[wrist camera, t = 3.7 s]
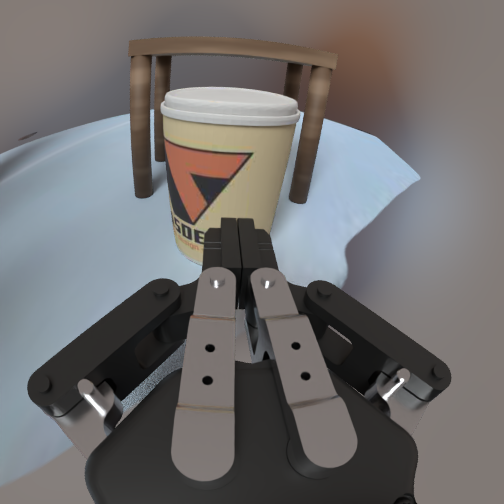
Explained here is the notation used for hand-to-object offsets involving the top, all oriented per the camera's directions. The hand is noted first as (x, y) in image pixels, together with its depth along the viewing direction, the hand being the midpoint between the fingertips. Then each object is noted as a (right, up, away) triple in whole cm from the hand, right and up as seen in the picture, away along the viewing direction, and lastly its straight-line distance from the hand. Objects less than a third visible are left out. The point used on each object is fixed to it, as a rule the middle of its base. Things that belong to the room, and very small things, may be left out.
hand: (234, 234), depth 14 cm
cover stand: (-3, +9, +21) cm, 23 cm away
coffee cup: (-2, 0, +11) cm, 11 cm away
